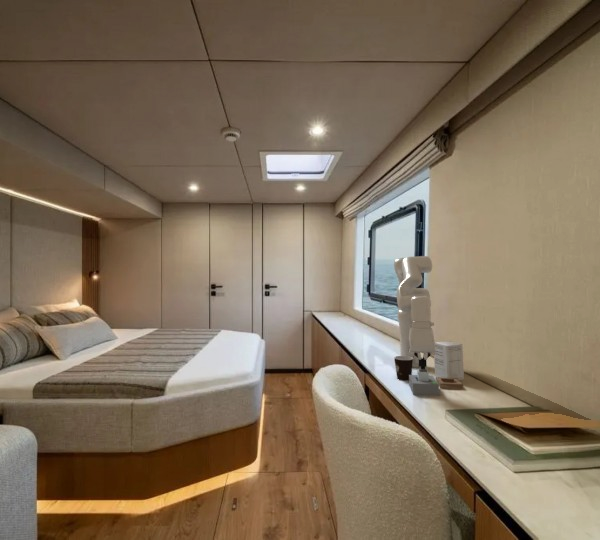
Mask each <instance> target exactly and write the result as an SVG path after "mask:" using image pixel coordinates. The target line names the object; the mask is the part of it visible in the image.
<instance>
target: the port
mask: <svg viewBox="0 0 600 540" xmlns="http://www.w3.org/2000/svg"><path fill="white" fill-rule="evenodd" d="M408 386H409V388H410V391H411V393H412V395H413V396H433V397H440V387H439V384H438V383H437V381H436V377H434V375H429V382H427V381H418V376H417V374H412V375H409V380H408Z"/></svg>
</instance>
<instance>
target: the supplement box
mask: <svg viewBox="0 0 600 540" xmlns="http://www.w3.org/2000/svg"><path fill="white" fill-rule="evenodd" d="M434 342H435V353H436V354H435V355H433V359H434V361H433V362H434V376H435V378H436V377H441V378H457V379H458V380H459V381H461V380H462V381H463V380H464V379H465V371H464V351H463V343H460V342H455V341H451V340H444V341H443V340H442V341H437V342H436V341H434Z"/></svg>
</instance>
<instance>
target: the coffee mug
mask: <svg viewBox="0 0 600 540" xmlns="http://www.w3.org/2000/svg"><path fill="white" fill-rule="evenodd" d="M412 364H413V358H412V357H409V356H401V355H396V356H394V365H395V372H396V373H395V374H396V380H398V379H399V381H409V375H413V367H412Z"/></svg>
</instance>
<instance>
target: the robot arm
mask: <svg viewBox="0 0 600 540" xmlns="http://www.w3.org/2000/svg"><path fill="white" fill-rule="evenodd" d="M393 267H394V268H393V269H394V271H395V274H396V276H397V279H398V287H397V289H396V302H397V308H398V310H397V322H398V328H399V345H400V346H399V348H400V356H409V357H412V358H413V364H412V368H421V369H425V368H427V360H428V359H429V358H430V357H431V356H434V355H435V354H436V353H435V342H436V341H435V336H434V335H435V334H434V329H433V328H432V326H435V322H432V321H431V320H432V316H431V315H432V312H431V311H432V310H431V307H432V301H431V295H430V292H429V290H428V289H427V288H422V287H420V286H421V285H422V283H423V277H422V276H423V275H422V273H423V274H424V273H425V274H429V273H431V272H432V271H433V262H432V260H431V257H429V256H427V255H426V256H425V255H420V256H418V255H417V256H408V257H400V258H396V259H395V260H394V263H393ZM421 353H423V356H422V355H421Z"/></svg>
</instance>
